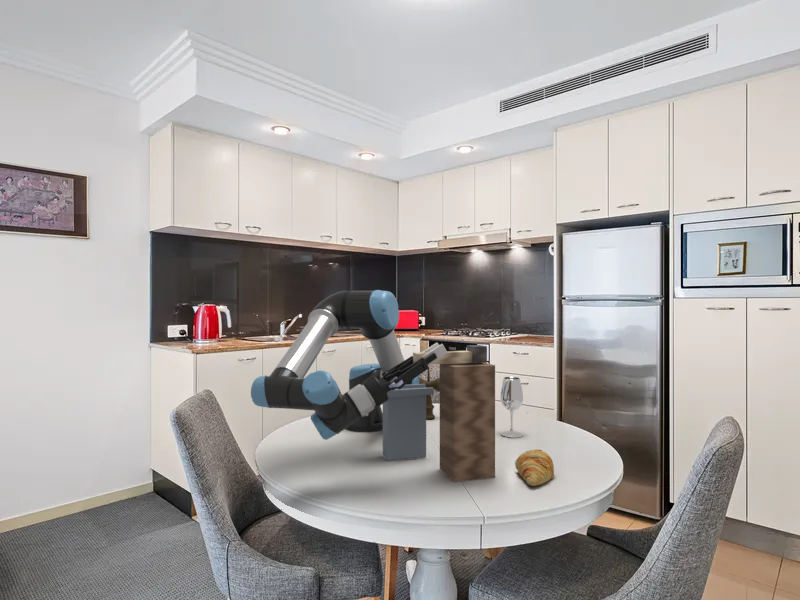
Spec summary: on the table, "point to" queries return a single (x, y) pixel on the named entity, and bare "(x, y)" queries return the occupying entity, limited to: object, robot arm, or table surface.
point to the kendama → (429, 405)
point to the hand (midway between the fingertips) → (441, 347)
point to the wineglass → (511, 401)
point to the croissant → (535, 467)
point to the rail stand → (405, 422)
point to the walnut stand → (467, 421)
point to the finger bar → (459, 356)
